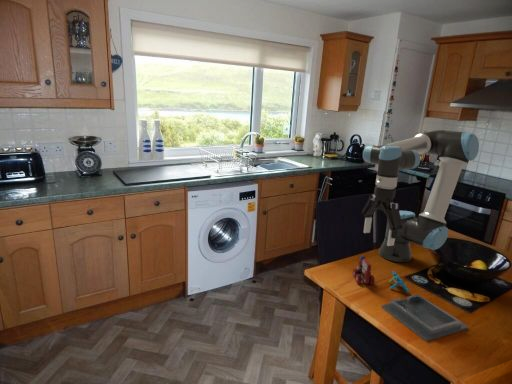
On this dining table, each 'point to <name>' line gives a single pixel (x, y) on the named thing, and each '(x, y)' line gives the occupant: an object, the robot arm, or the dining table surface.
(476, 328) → the dining table surface
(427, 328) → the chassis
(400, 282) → the blue toy figure
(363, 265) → the dark red figurine
